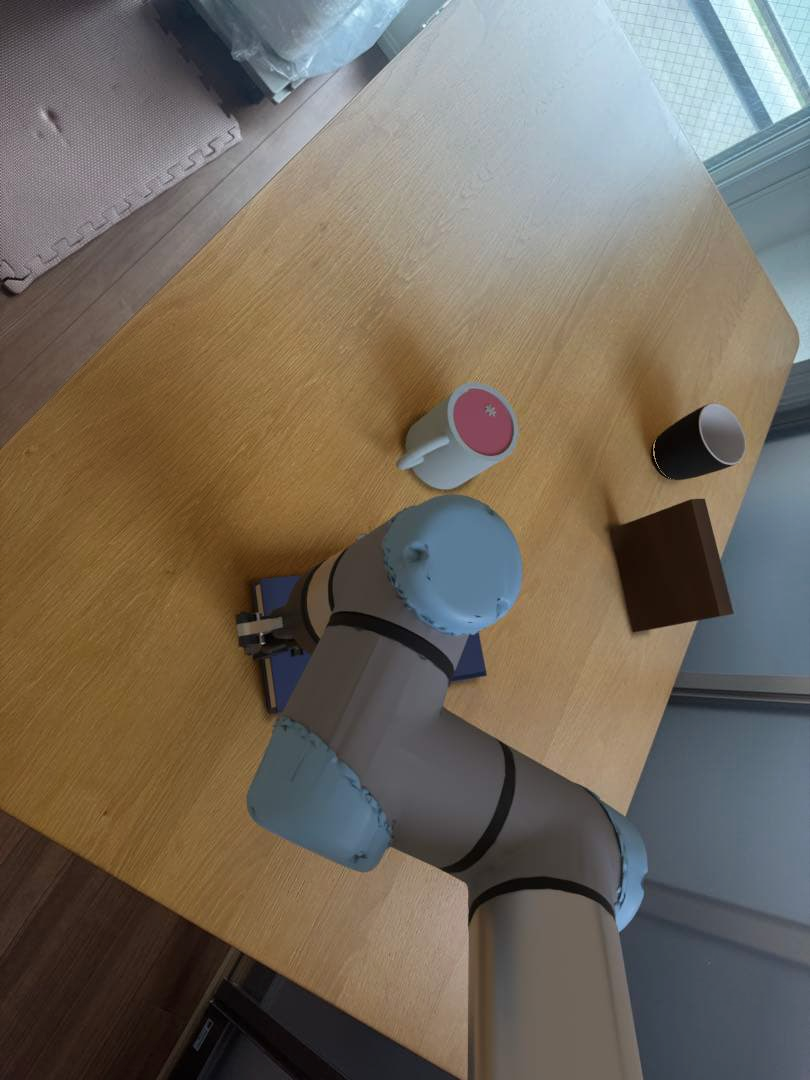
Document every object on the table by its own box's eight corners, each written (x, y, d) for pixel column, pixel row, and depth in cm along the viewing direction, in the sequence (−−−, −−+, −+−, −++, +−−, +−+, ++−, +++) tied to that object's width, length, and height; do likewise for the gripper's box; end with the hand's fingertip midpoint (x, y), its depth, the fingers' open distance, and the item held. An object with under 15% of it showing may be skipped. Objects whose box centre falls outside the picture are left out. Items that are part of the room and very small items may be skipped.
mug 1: (450, 408, 91) (494, 373, 82) (483, 475, 91) (531, 446, 82) (361, 441, 84) (400, 406, 75) (397, 513, 84) (439, 486, 75)
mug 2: (673, 500, 105) (732, 478, 96) (633, 455, 104) (689, 428, 95) (703, 450, 111) (761, 424, 102) (666, 407, 110) (722, 377, 101)
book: (268, 714, 71) (278, 713, 69) (251, 584, 74) (260, 578, 71) (472, 678, 83) (487, 675, 80) (452, 566, 85) (465, 561, 83)
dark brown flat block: (632, 632, 95) (720, 615, 83) (609, 529, 98) (691, 498, 86) (645, 630, 96) (734, 613, 84) (622, 528, 99) (705, 498, 87)
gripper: (425, 546, 54) (314, 601, 74) (257, 558, 48) (185, 614, 68) (443, 646, 53) (325, 674, 73) (272, 672, 47) (194, 695, 67)
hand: (258, 645), depth 71 cm, fingers closed
